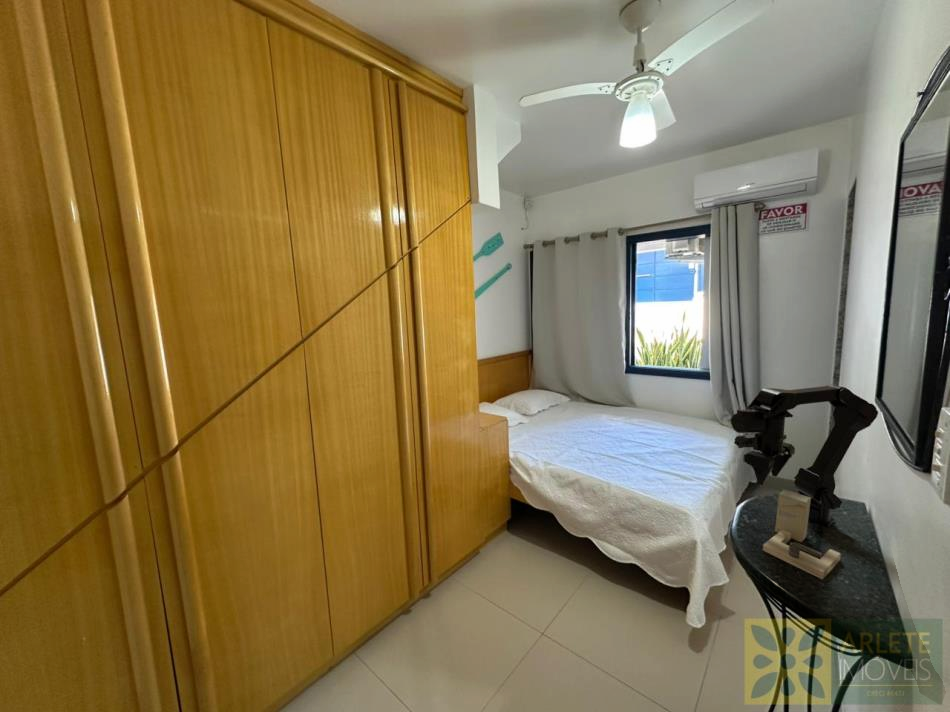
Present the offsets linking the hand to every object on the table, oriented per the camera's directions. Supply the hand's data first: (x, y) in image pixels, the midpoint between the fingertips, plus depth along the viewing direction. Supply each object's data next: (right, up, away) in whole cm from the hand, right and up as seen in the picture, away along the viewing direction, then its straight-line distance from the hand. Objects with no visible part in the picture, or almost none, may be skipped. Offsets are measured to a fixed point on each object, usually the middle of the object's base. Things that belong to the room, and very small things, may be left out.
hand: (767, 480), depth 107 cm
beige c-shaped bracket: (-3, -15, -14) cm, 21 cm away
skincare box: (+2, -14, -5) cm, 15 cm away
